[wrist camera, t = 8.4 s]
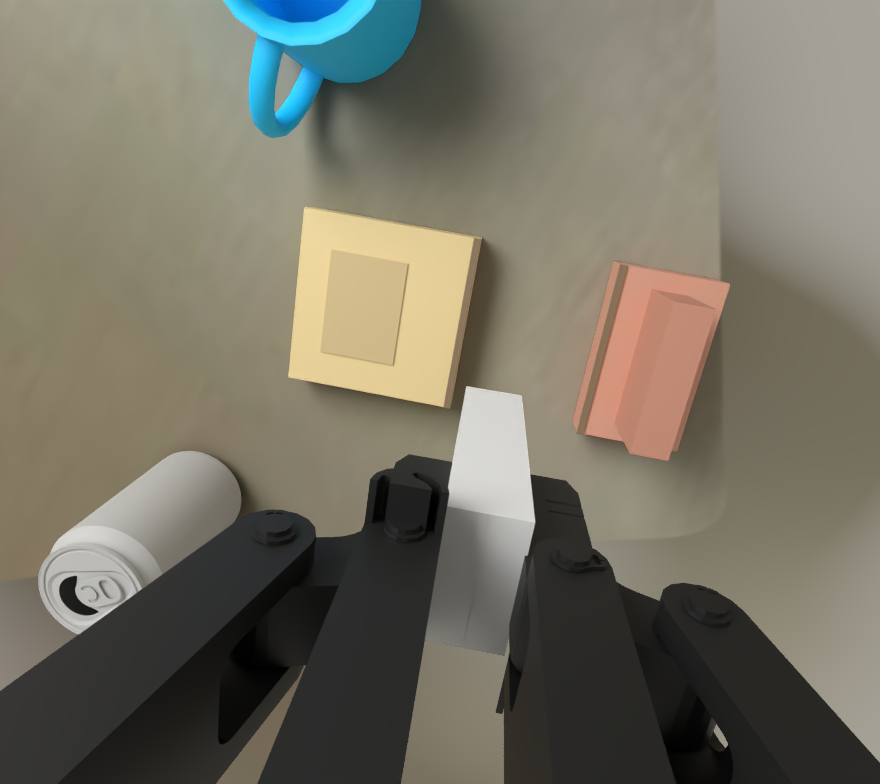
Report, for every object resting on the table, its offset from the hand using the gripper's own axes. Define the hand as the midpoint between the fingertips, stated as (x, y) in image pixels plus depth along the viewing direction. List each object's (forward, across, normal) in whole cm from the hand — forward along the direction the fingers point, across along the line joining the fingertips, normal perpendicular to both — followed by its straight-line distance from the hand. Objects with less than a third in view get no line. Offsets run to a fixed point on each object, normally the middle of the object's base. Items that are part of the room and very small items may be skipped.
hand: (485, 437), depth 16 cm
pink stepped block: (+21, +9, -1) cm, 23 cm away
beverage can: (+21, -18, -16) cm, 32 cm away
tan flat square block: (+21, -6, -1) cm, 22 cm away
